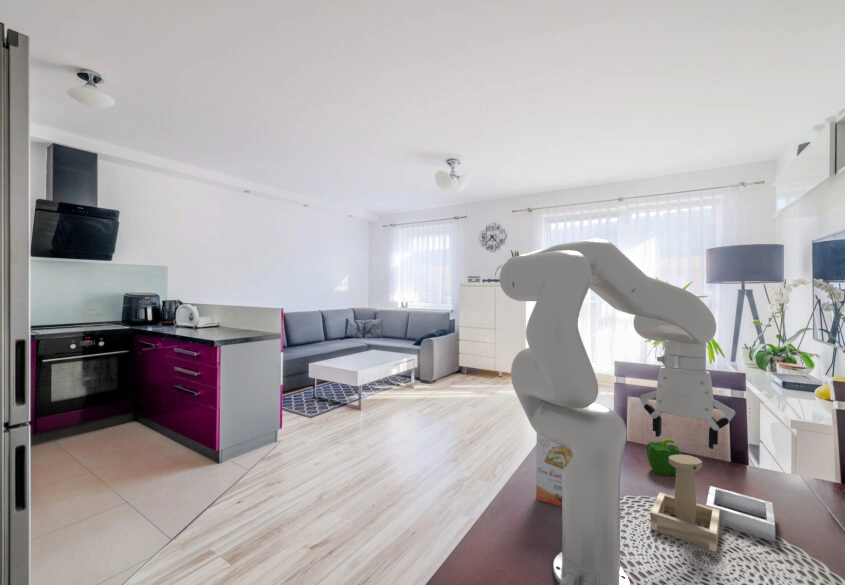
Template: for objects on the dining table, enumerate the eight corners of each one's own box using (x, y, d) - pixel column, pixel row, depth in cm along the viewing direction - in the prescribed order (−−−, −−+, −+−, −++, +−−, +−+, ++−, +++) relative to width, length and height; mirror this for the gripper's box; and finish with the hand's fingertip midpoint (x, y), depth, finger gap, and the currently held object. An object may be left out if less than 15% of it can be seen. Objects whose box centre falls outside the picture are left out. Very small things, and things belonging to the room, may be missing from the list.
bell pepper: (640, 470, 109) (640, 436, 109) (654, 463, 113) (654, 430, 113) (672, 482, 102) (672, 445, 102) (686, 474, 106) (685, 439, 106)
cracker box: (535, 501, 92) (535, 417, 92) (540, 490, 97) (541, 410, 97) (597, 518, 85) (597, 427, 85) (599, 505, 90) (599, 419, 90)
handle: (707, 532, 80) (707, 463, 80) (681, 535, 79) (681, 465, 79) (688, 519, 85) (688, 453, 85) (663, 522, 84) (663, 455, 84)
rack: (716, 552, 74) (716, 534, 74) (650, 528, 81) (650, 512, 81) (719, 525, 83) (719, 509, 83) (659, 506, 90) (659, 491, 90)
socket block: (775, 542, 77) (775, 525, 77) (706, 520, 85) (706, 504, 85) (772, 517, 86) (772, 502, 86) (710, 499, 93) (709, 485, 93)
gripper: (636, 360, 85) (635, 435, 85) (735, 371, 74) (734, 457, 73) (643, 357, 91) (642, 427, 90) (735, 366, 79) (735, 447, 79)
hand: (683, 440), depth 82 cm, fingers open, 9 cm apart
